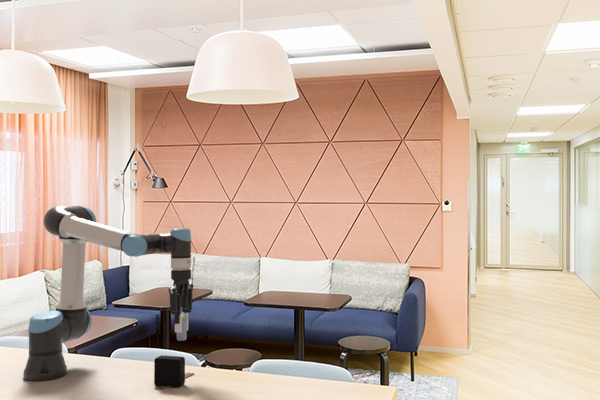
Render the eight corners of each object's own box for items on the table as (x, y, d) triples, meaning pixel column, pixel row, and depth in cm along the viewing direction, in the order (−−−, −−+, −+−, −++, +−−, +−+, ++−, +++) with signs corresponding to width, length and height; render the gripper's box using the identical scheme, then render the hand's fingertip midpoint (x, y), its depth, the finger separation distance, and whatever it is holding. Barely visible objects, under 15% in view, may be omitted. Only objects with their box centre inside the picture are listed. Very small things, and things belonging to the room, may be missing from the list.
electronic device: (179, 388, 197) (180, 359, 197) (154, 386, 199) (154, 358, 200) (184, 384, 201) (185, 356, 201) (159, 382, 203) (159, 355, 204)
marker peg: (174, 340, 209) (174, 316, 210) (180, 338, 213) (180, 314, 213) (183, 340, 208) (182, 316, 208) (188, 338, 211) (188, 315, 212)
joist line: (154, 388, 196) (154, 388, 196) (187, 373, 215) (187, 372, 215) (161, 390, 195) (161, 389, 195) (194, 374, 214) (194, 373, 214)
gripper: (176, 271, 202) (177, 336, 201) (201, 267, 217) (201, 327, 217) (159, 271, 205) (160, 335, 204) (185, 266, 220) (185, 326, 220)
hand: (181, 331), depth 211 cm, fingers closed on marker peg, 3 cm apart
